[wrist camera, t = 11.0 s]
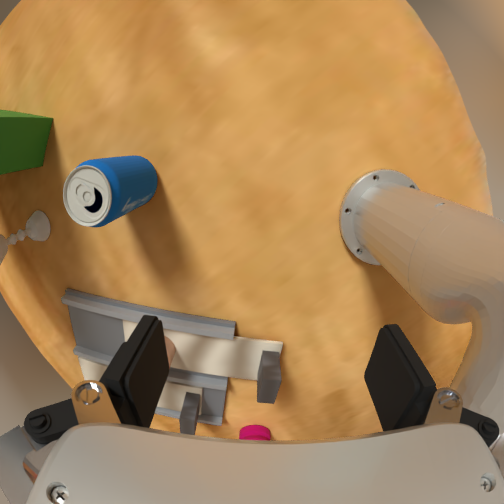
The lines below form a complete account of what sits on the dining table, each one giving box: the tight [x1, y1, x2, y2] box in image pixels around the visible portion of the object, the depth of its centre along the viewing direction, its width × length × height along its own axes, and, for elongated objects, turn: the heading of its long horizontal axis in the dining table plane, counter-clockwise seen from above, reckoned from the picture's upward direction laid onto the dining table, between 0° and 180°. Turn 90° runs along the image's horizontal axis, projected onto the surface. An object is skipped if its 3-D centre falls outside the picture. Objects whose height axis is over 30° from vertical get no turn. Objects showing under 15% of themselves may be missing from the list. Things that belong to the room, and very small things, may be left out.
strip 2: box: [122, 319, 283, 404], centre depth 37 cm, size 24×8×7 cm, turn 82°
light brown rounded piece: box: [164, 336, 176, 369], centre depth 36 cm, size 5×5×7 cm
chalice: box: [0, 210, 50, 264], centre depth 27 cm, size 7×7×18 cm
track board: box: [61, 288, 235, 426], centre depth 42 cm, size 28×24×2 cm
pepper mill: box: [239, 425, 270, 441], centre depth 40 cm, size 7×7×20 cm
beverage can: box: [63, 156, 157, 227], centre depth 27 cm, size 6×6×12 cm
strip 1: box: [78, 356, 203, 435], centre depth 41 cm, size 24×8×7 cm, turn 82°
